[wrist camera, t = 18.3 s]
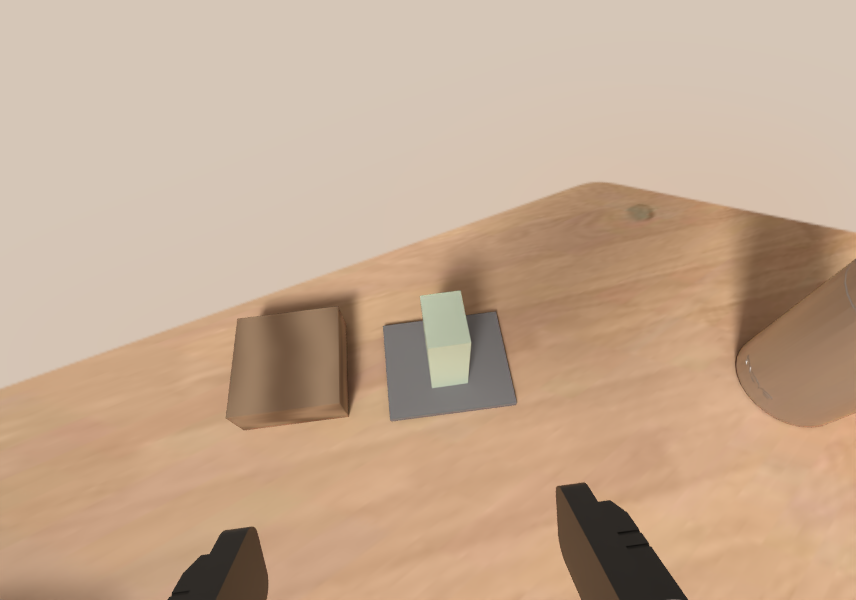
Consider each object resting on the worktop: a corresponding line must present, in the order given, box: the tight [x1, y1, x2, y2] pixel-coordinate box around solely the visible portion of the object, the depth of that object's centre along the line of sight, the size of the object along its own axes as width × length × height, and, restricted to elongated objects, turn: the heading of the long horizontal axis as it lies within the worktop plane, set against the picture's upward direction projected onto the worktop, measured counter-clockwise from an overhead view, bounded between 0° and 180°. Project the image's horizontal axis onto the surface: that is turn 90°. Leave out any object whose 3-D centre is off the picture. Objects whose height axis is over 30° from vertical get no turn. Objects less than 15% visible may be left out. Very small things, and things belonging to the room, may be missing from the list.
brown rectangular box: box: [226, 306, 349, 430], centre depth 43 cm, size 10×10×4 cm
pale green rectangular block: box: [420, 290, 471, 388], centre depth 41 cm, size 4×5×9 cm
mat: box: [383, 312, 517, 421], centre depth 45 cm, size 12×10×1 cm
